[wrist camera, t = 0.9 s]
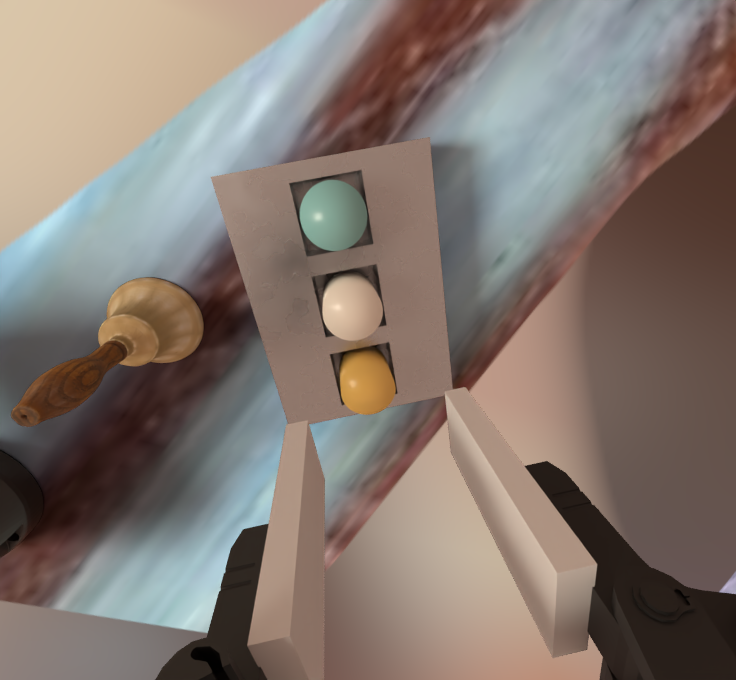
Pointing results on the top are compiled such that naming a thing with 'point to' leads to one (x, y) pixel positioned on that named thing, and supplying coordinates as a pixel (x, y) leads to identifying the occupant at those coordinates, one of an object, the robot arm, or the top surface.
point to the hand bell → (119, 346)
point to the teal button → (333, 215)
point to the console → (317, 266)
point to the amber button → (366, 380)
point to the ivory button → (351, 306)
